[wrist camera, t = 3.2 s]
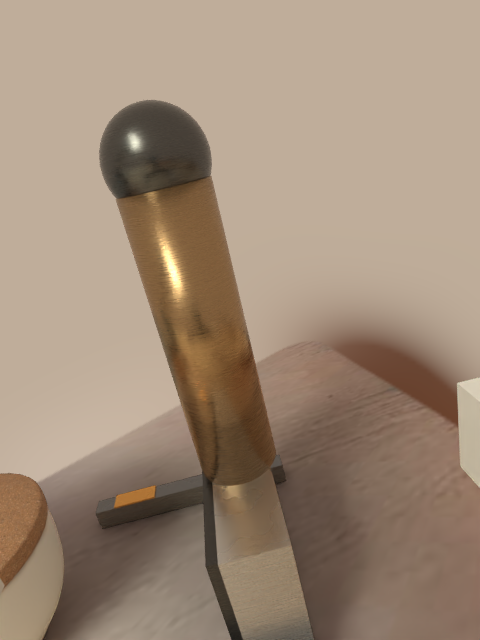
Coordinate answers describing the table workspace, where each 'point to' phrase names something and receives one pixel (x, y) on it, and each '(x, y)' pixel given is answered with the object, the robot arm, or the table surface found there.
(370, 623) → the table surface
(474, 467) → the robot arm
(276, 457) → the bench
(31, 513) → the lidded jar
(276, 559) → the gold upright rod
